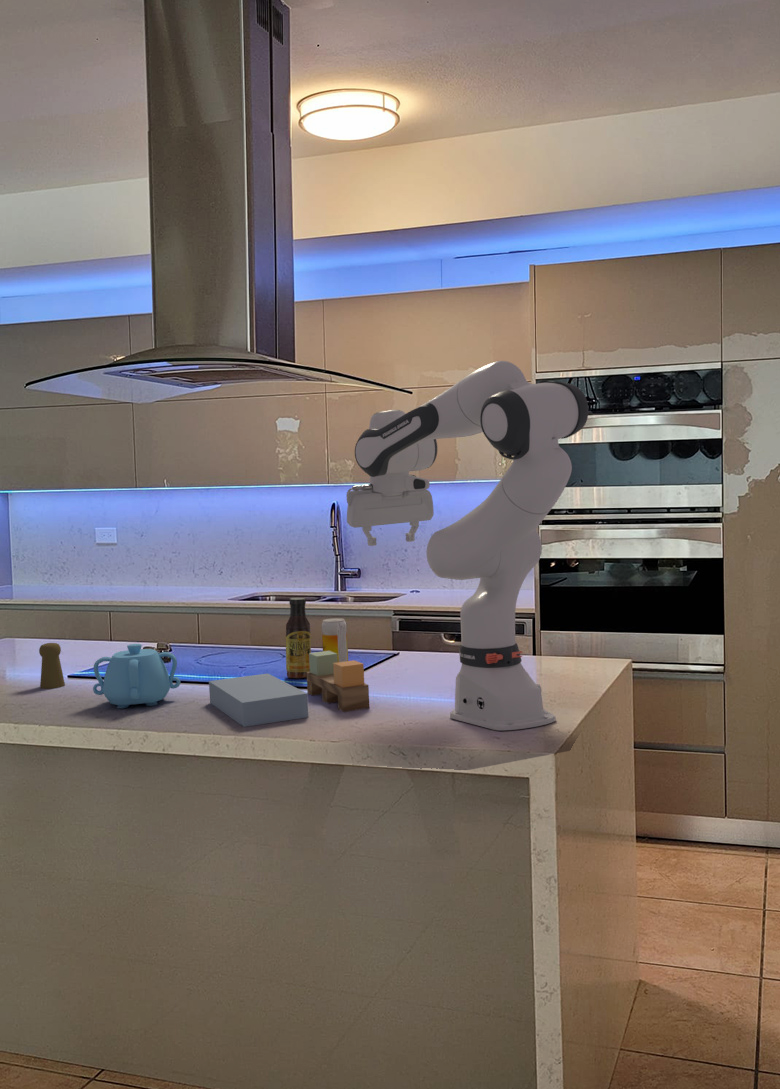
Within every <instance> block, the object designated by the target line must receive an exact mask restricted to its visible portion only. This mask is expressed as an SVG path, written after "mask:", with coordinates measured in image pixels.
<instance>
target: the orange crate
mask: <svg viewBox="0 0 780 1089" xmlns="http://www.w3.org/2000/svg"><path fill="white" fill-rule="evenodd" d="M333 670H334V684H336V685H339V686H341V687H350V686H357V685H364V683H365V669H364V663H363V662H360V661H358V660H348V661H345V662H338V663H333Z"/></svg>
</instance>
